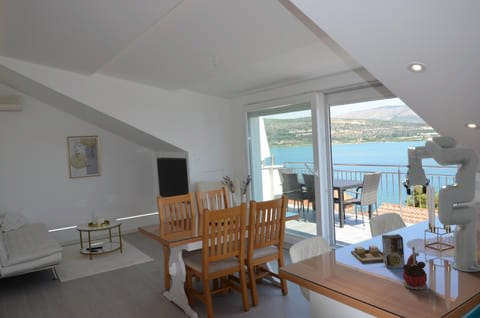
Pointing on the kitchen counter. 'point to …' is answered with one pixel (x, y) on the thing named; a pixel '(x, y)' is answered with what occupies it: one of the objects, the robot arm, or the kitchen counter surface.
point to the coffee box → (393, 251)
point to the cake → (414, 272)
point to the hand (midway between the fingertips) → (416, 194)
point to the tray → (369, 257)
